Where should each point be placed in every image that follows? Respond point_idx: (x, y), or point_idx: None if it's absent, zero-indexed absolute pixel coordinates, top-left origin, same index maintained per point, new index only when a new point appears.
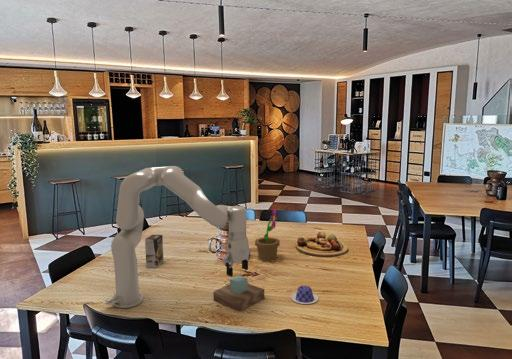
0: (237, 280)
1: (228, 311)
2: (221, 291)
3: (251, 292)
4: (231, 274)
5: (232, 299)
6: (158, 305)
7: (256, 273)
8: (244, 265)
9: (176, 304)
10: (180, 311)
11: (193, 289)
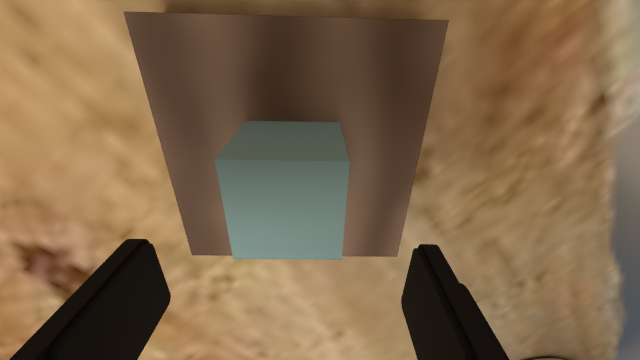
0: (321, 199)
1: (450, 86)
2: (370, 229)
3: (252, 67)
4: (446, 266)
5: (428, 106)
6: (520, 323)
7: (28, 258)
8: (129, 314)
9: (490, 294)
10: (537, 252)
11: (356, 326)
